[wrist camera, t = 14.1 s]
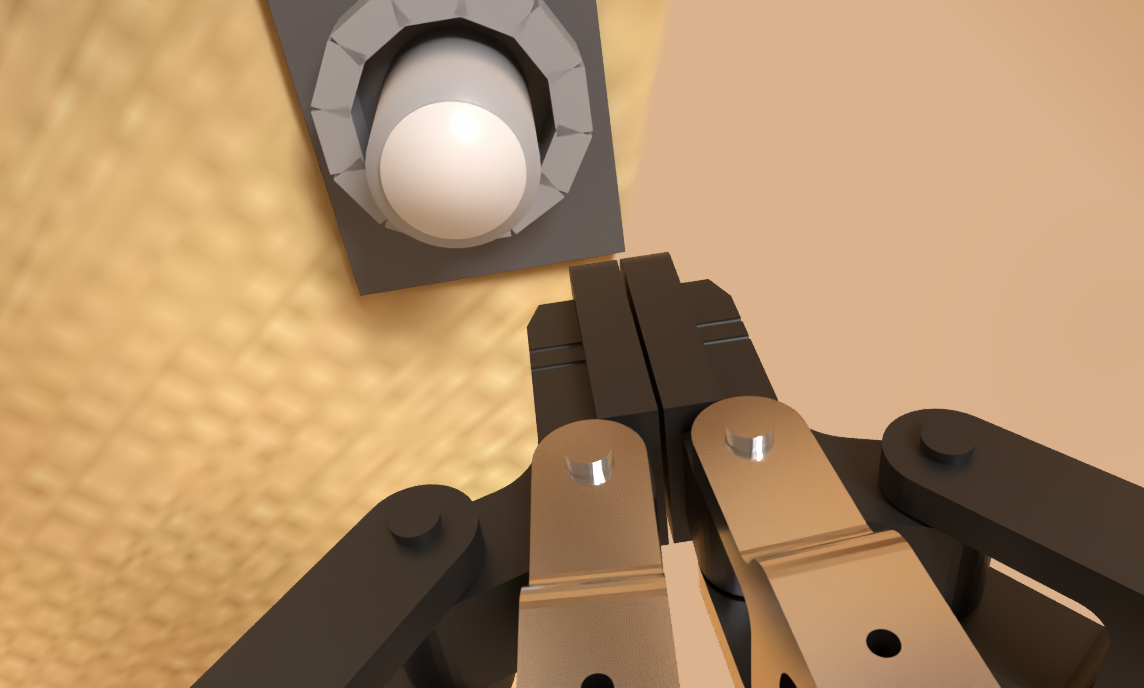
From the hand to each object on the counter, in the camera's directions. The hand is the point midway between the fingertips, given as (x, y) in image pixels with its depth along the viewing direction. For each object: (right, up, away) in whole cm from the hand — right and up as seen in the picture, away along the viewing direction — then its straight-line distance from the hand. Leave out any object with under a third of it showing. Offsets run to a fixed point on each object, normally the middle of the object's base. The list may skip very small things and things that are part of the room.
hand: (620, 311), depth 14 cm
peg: (-5, +9, +22) cm, 25 cm away
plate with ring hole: (-5, +10, +23) cm, 26 cm away
